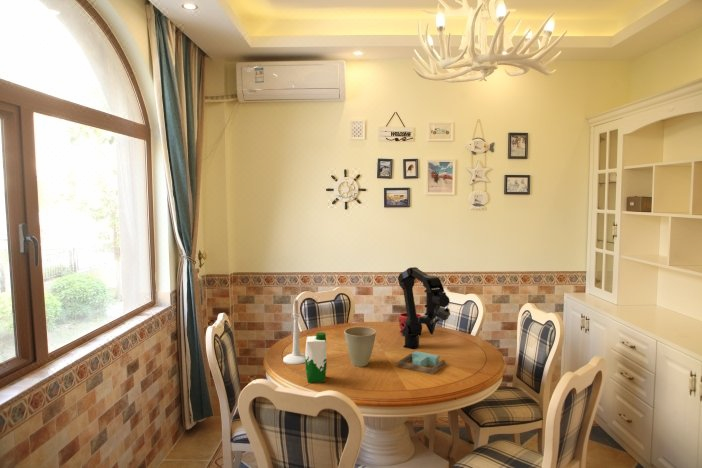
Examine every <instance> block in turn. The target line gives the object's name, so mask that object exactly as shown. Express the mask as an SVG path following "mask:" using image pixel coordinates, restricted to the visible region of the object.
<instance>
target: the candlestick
mask: <svg viewBox="0 0 702 468" xmlns="http://www.w3.org/2000/svg"><path fill="white" fill-rule="evenodd" d="M292 315H293V319H294V320H293V337H292V352H291V353H289V354H287V355H285V356H284V357H283V358H282V362H283V363H284V364H287V365H297V366H298V365H304V364H305V353H303V352H301V349H300V348H301V347H300V331H299V329H300V328H299V317H300V316H299V315H300V312H299V300H298V299H293V312H292Z"/></svg>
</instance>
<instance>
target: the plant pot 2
mask: <svg viewBox="0 0 702 468" xmlns="http://www.w3.org/2000/svg"><path fill="white" fill-rule="evenodd" d="M416 315H417V317H418V318H420V317H422V316H423V315H422V314H419V313H417V312H416ZM406 319H407V312H402V313H399V315H398V326H399V328H400V330H399V334H400V335H401V336H403V337H405V336H404V335H403V334H402V330H403V329H404V328H405V322H406Z"/></svg>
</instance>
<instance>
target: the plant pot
mask: <svg viewBox="0 0 702 468" xmlns="http://www.w3.org/2000/svg"><path fill="white" fill-rule="evenodd" d="M343 331H344V332H343V333H344V340H345V346H346V349H347V352H348V356H349V359H350V361H351V365H352V366H354V367H358V368H360V367H362V368H363V367H366V366H368V364H369V362H370V360H371V356H372V353H373V350H374V346H375V340H376V333H377V331H376V329H375V328H372V327H368V326H367V327H366V326H352V327H348V328H346V329H345V330H343Z"/></svg>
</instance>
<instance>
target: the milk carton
mask: <svg viewBox="0 0 702 468" xmlns="http://www.w3.org/2000/svg"><path fill="white" fill-rule="evenodd" d="M326 335H327V334H326V333H325V332H317V333H316V334H315V335H312V336H310V335H309V336H307V337H306V341H305V342H306V344H305V350H304V352H305V353H304V354H305V363H304V364H305V372H306V379H307V383H309V384H311V383H312V384H313V383H325V382H326V376H327V375H326V373H327V365H328V364H327V362H328V361H327V355H328V354H327V336H326Z"/></svg>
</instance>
